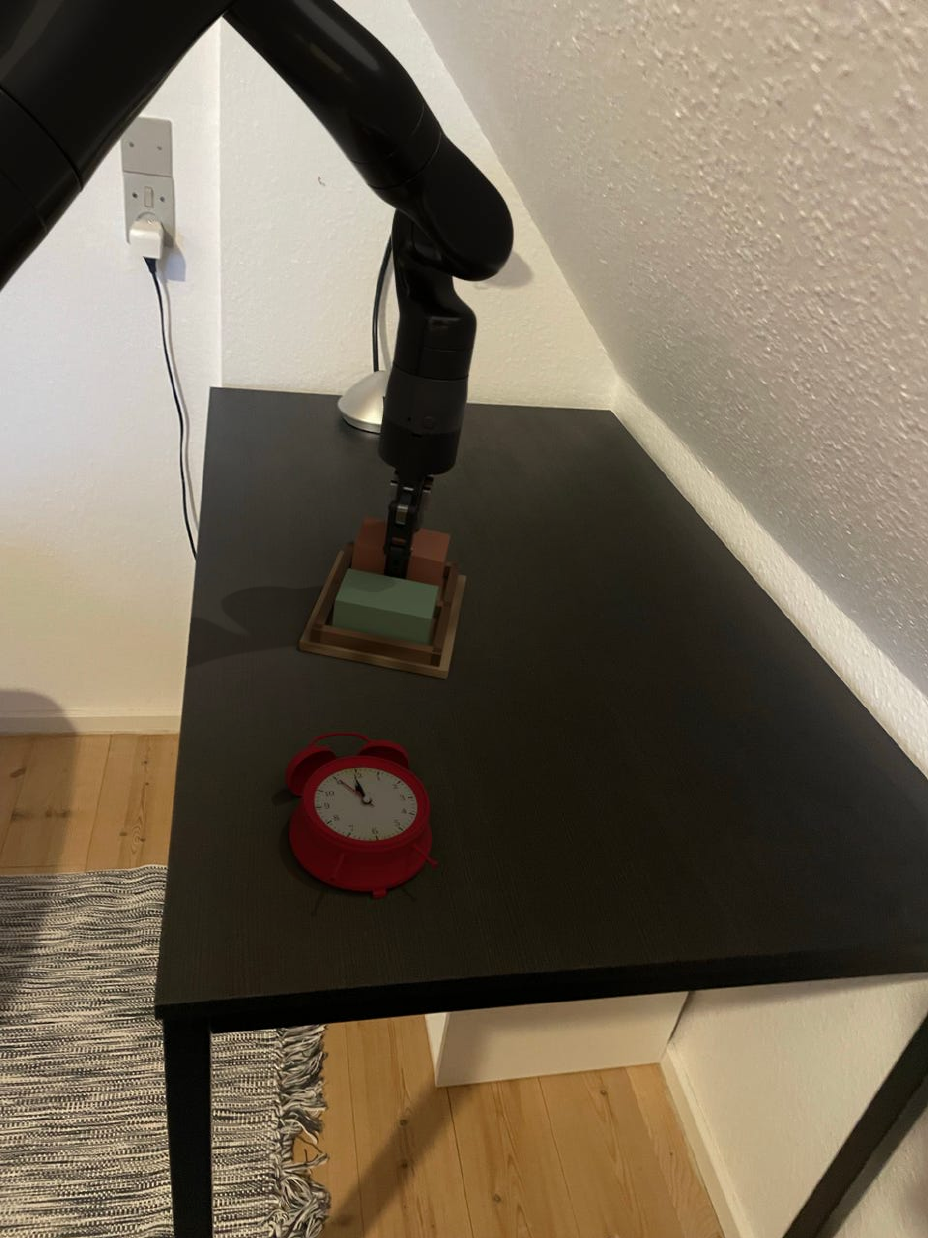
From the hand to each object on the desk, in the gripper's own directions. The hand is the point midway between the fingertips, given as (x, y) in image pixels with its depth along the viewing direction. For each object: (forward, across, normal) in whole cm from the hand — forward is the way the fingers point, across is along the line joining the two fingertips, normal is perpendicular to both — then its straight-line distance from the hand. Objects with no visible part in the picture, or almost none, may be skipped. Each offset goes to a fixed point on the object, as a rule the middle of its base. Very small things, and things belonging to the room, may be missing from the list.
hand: (398, 567), depth 97 cm
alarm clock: (+3, +33, +2) cm, 33 cm away
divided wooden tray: (+3, +4, 0) cm, 5 cm away
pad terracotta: (+1, 0, 0) cm, 1 cm away
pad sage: (+2, +8, 0) cm, 8 cm away
